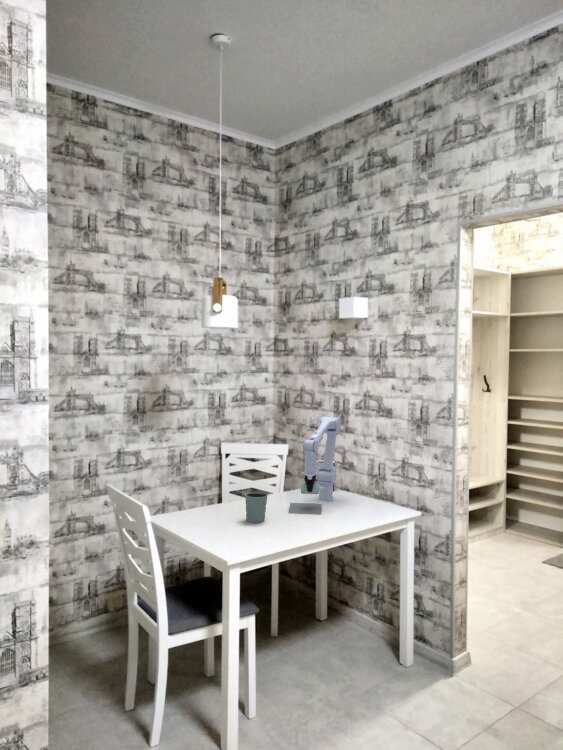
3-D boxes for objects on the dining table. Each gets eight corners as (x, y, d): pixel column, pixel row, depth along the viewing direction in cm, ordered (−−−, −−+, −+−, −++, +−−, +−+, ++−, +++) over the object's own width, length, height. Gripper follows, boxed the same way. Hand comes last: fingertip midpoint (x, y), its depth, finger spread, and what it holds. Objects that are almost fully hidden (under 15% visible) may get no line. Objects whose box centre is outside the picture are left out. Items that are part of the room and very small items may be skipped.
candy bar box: (336, 489, 331) (336, 460, 330) (334, 491, 326) (334, 462, 326) (317, 487, 335) (317, 459, 334) (315, 489, 330) (315, 460, 329)
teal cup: (240, 519, 267) (240, 494, 266) (256, 515, 274) (256, 490, 273) (255, 524, 260) (255, 498, 259) (271, 520, 267) (271, 494, 266)
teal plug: (300, 493, 287) (300, 483, 287) (301, 491, 291) (301, 481, 291) (323, 494, 286) (323, 484, 286) (323, 492, 290) (323, 482, 290)
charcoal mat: (290, 503, 297) (290, 502, 297) (321, 504, 296) (321, 503, 296) (287, 514, 278) (287, 513, 278) (321, 515, 276) (321, 514, 276)
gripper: (303, 460, 295) (302, 487, 296) (301, 466, 281) (301, 494, 281) (316, 461, 295) (316, 487, 295) (316, 466, 280) (315, 494, 281)
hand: (309, 490), depth 288 cm, fingers closed on teal plug, 4 cm apart
